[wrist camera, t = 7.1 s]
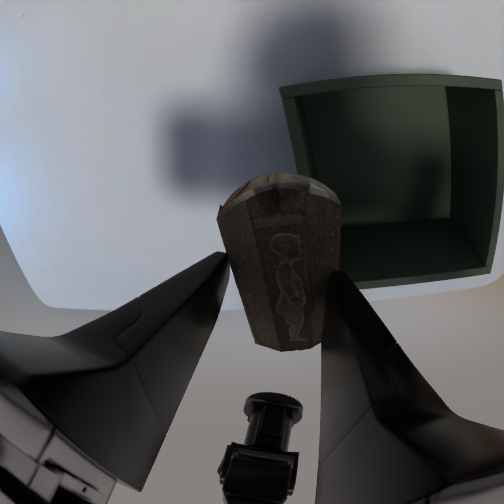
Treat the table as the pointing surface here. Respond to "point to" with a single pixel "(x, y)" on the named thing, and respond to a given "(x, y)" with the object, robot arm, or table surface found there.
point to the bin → (405, 170)
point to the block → (283, 255)
